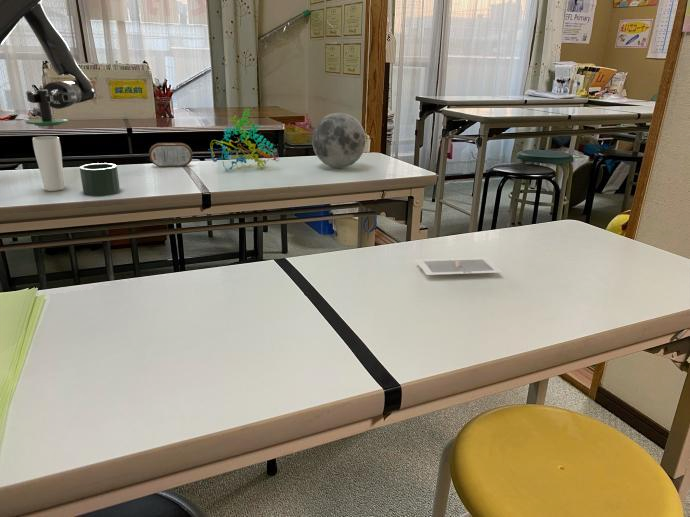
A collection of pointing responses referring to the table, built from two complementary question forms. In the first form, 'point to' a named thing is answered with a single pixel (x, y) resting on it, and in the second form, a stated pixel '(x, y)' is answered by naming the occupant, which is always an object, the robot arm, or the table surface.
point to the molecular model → (245, 143)
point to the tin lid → (45, 113)
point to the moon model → (338, 140)
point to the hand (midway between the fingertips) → (39, 98)
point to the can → (99, 179)
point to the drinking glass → (49, 161)
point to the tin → (170, 154)
